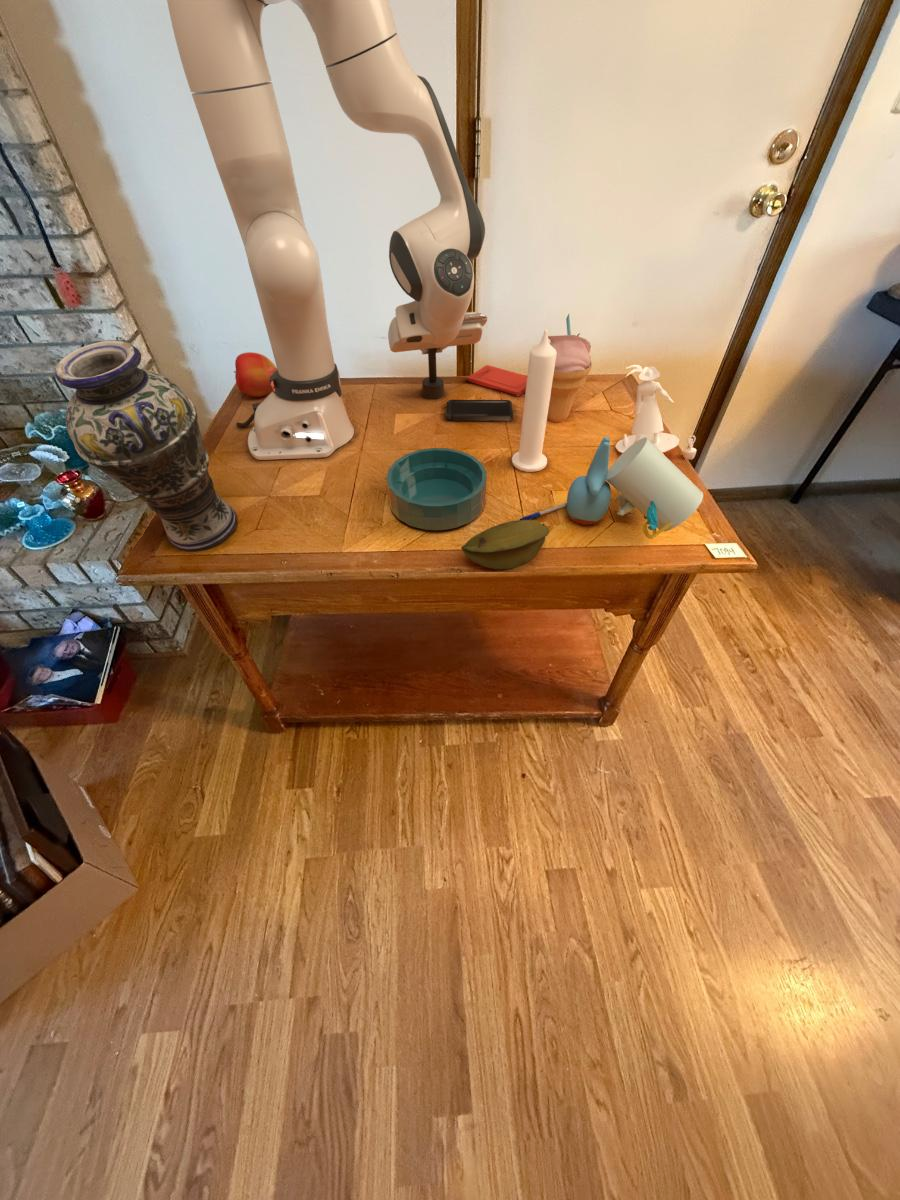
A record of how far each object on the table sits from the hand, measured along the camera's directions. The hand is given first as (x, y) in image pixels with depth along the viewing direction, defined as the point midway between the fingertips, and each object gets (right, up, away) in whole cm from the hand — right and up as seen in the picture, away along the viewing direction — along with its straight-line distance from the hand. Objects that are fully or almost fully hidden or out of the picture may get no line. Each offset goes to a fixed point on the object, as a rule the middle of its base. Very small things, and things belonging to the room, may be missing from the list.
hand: (431, 350), depth 113 cm
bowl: (+2, -39, -21) cm, 45 cm away
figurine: (+47, -29, -10) cm, 56 cm away
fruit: (+14, -50, -31) cm, 60 cm away
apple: (-37, -3, +7) cm, 38 cm away
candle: (+20, -29, -13) cm, 38 cm away
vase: (-39, -44, -26) cm, 65 cm away
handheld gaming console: (+24, -6, +7) cm, 25 cm away
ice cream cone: (+28, -16, -1) cm, 33 cm away
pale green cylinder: (+32, -35, -31) cm, 57 cm away
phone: (+11, -14, +1) cm, 18 cm away
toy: (+29, -32, -36) cm, 56 cm away
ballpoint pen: (+21, -41, -25) cm, 53 cm away
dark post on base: (0, -7, +7) cm, 10 cm away
